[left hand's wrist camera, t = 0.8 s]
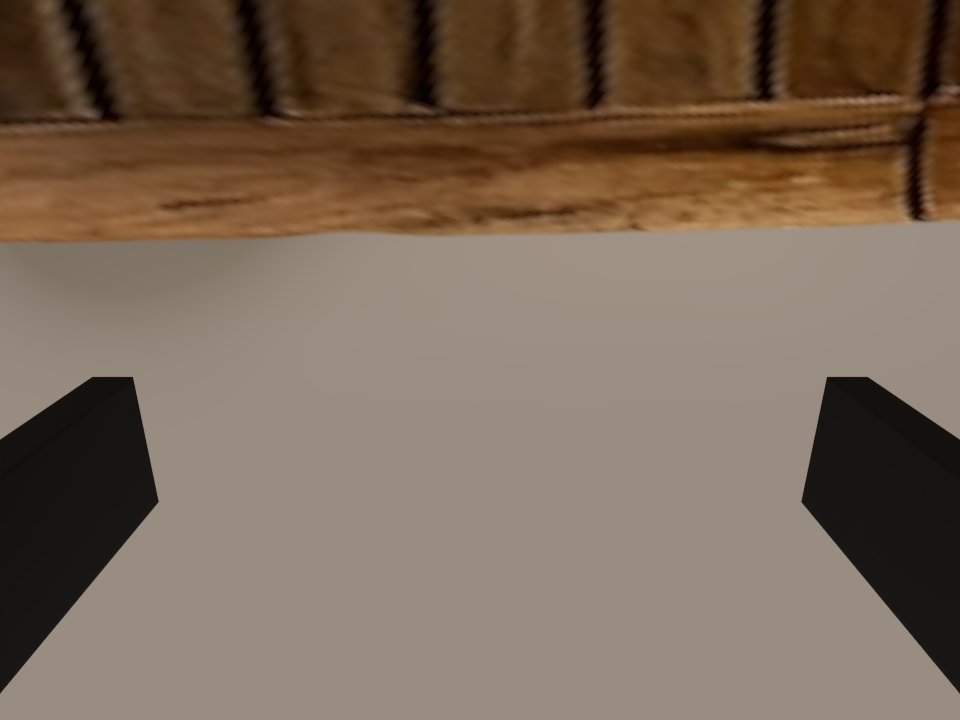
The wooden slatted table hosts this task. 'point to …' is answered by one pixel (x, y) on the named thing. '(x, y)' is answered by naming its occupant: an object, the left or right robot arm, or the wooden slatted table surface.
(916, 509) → the left robot arm
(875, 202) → the wooden slatted table surface
